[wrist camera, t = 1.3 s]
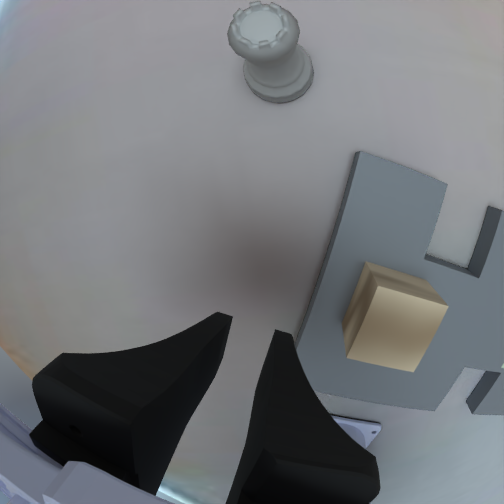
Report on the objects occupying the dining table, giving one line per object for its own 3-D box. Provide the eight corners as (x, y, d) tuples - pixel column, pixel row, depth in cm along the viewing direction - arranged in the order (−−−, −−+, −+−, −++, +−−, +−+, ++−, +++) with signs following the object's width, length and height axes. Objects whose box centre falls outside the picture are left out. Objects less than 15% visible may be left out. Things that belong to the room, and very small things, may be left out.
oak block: (399, 337, 19) (413, 372, 15) (341, 323, 19) (346, 357, 16) (426, 279, 17) (448, 306, 14) (365, 261, 18) (378, 285, 14)
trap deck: (506, 403, 20) (512, 415, 19) (285, 367, 23) (283, 382, 21) (579, 260, 15) (591, 266, 13) (355, 152, 18) (360, 151, 16)
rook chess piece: (313, 46, 16) (312, -15, 9) (313, 105, 18) (313, 68, 10) (247, 45, 17) (211, -11, 10) (245, 104, 19) (204, 70, 11)
